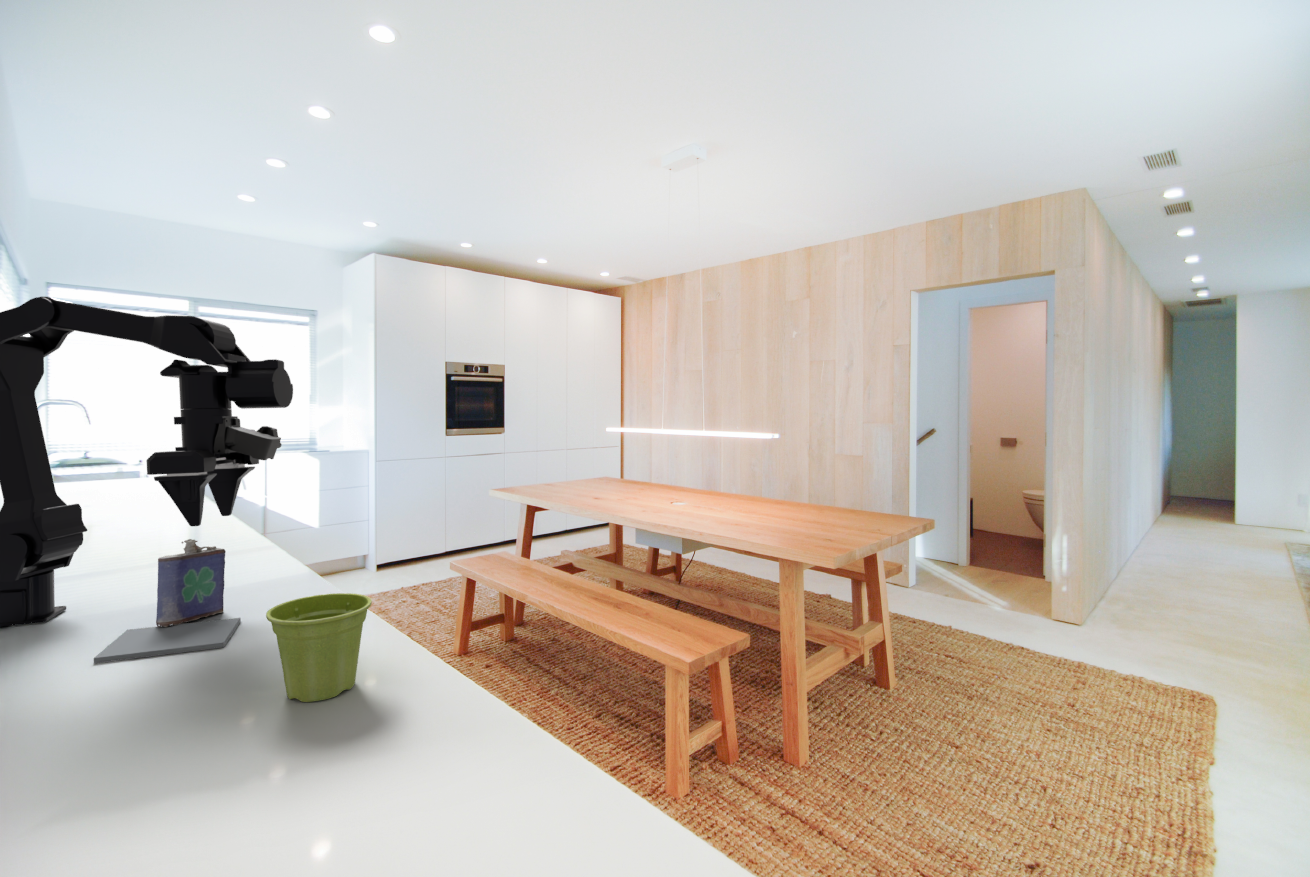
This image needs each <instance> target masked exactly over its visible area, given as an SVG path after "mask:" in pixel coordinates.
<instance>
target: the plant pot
mask: <svg viewBox="0 0 1310 877" xmlns="http://www.w3.org/2000/svg"><path fill="white" fill-rule="evenodd" d="M371 606H372V598H371V597H369V596H367V595H364V594H360V593H348V592H347V593H343V592H341V593H326V594H316V595H311V596H304V597H301V598H300V597H299V598H296V599H291V600H288V601H285V602H282V603H279V604H277V605H275V606H273V607H271V608H269V609H267V610H268V611H267V612H266V613H265V617H266V620H267V621H269V622H270V623H271V627H272V632H273V634H274V635H275V636H276V640H277V646H278V651H279V657H280V664H281V668H282V673H283V680H284V686H285V691H286V696H287V697H288V698H287V699H289V700H293V699H297V700H298V701H300V702H301V703H313V702H318V701H323V700H330V699H332V698H334V697H337V696H339V695H340V693H342V692H343V691H345V690H351V689H352V688H353V687H354V686H355V683H356V679H357V672H358V671H357V670H358V663H359V653H360V648H361V641H362V640H361V639H362V631H363V627H364V626H363V625H364V622H365V621H366V617H367V613H368V610H369V608H371Z"/></svg>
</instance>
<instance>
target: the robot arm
mask: <svg viewBox="0 0 1310 877" xmlns="http://www.w3.org/2000/svg"><path fill="white" fill-rule="evenodd" d="M74 331H76V332H81V333H86V334H91V335H92V334H93V335H98V336H99V335H100V336H104V337H110V338H115V339H120V340H125V341H126V340H128V341H132V342H137V343H142V344H143V343H144V344H146V345H149V346H151V347H154V348H157V349H159V350H160V351H161V350H162V351H164V352H166V353H170V354H172V355H175V356H178V357H181V358H184V359H189V360H196V361H201V362H202V363H204V364H189V363H188V362H187V361H186V360H182V359H181V360H180V359H174V360H173V361H172V362H171V363H170V365H168V366H166V367H165V368H163V369H162V370H161V371H160V373H159V374H160V376H161V377H167V378H168V377H169V378H174V379H175V378H176V379H178V382H179V386H178V387H179V404H180V406H179V407H180V416H173V424H174V425H181V426H180V427H181V444H182V445H181V446H177V447H176V446H175V449H174V450H172V451H170V450H169V451H157V452H154V453H152V454H151V455H150V456H149V457H148V458H147V459H146V474H147V475H148V476H150V475H151V476H152V475H153V479H154V481H155V482H158V483H159V484H160V486H161V487H162V489H163V490H164V491H165V492H166V493H167V495H168V496H169V497H170V498H171V500H172V501H173V503H174V504H175V506H176V507H177V509H178V510H179V512H180V513H181V515H182V516H183V518H184V519H185V521H186V523H187V524H188V525H189V526H190V527H199V526H201V525H202V524H201V523H202V519H203V513H204V503H205V501H204V500H205V493H206V486H207V485H208V486H209V490H210V492H211V494H212V496H213V499H214V502H215V504H216V507H217V509H218V510H219V512H220V515H221V516H222V517H228V516H231V515H232V514H233V511H234V507H235V502H236V499H237V497H238V496H237V495H238V493H239V489H240V486H241V483H242V480H243V478H245V476H247V475H248V474H249V473H251V472H252V471H253V470H255V468H256V466H250V465H259V464H260V461H267V460H268V459H270V460H274V458H275V456H276V453H277V450H278V449H280V448H281V447H282V443H281V439H282V437H279V435H278V429H277V428H275V427H271V426H267V425H263V426H261V427H260V428H258V429H257V430H255V429H251V428H250V429H249V428H245V427H242V426H241V420H240V418H239V417H238V416H237V415H236V416H233V414H232V413H233V412H232V402H234V404H235V405H236V406H237V407H238V408H239V409H242V410H243V409H244V410H245V409H278V408H279V409H284V408H287V407H289V406H290V404H291V403H292V400H293V396H294V385H293V383H292V382H291V378H290V376H289V373H288V371H287V370H286V369H285V362H284V361H283V360H279V359H277V358H275V359H264V360H250V358H249V357H248V356H247V355H246V354H245V353H244V352H243V350H242V349H241V348H240V347H239V346H238V344H237V343H236V341H237V340H236V337H235V334H234V333H233V332H232V330H231V328H230V327H229V326H227V325H225V324H223V323H219V322H216V321H212V320H209V319H205V318H201V317H197V316H193V315H168V314H167V315H166V314H165V315H157V316H150V315H149V316H146V315H141V314H140V315H139V314H134V313H129V312H128V313H127V312H122V311H118V310H112V309H108V308H107V309H106V308H100V307H95V306H90V305H85V304H79V303H73V302H71V301H67V300H62V299H58V298H54V297H50V296H38V297H36V296H35V297H33V298H31V299H28V300H27V301H26V302H24V303H22V304H21V305H19V306H17V307H13V308H10V309H6V310H3V311H1V312H0V489H1V490H0V491H1V494H2V497H3V503H2V504H3V505H2V506H1V508H0V627H10V626H11V627H12V626H21V625H31V624H39V623H40V624H41V623H46V622H48V621H49V620H52V618H54V617H56V616H57V615H60V614H61V613H63V612H64V611H66V610H67V606H66V605H60V606H59V605H58V606H55V570H57V569H61V568H67V567H69V566H70V564H71V562H72V558H73V556H74V554H75V552H77V550H78V549H79V548H80V547H81V546H82V544H83V542H84V533H86V532H88V528H87V527H86V525H85V524H84V522H83V515H82V514H83V511H82V510H83V509H82V507H81V505H80V504H79V503H72V504H67V503H66V502H65V501H64V500H63V499H61V498H60V496H58V495H57V491H56V487H55V483H54V478H53V474H52V469H51V464H50V460H49V456H48V450H47V445H46V442H45V436H44V432H43V427H42V424H41V418H40V412H39V409H38V404H37V399H36V395H35V394H36V390H37V388H38V385H39V384H40V382H41V379H42V378H43V376H44V374H45V364H44V363H45V361H44V360H45V358H46V357H47V356H49V355H51V354H52V353H54V352H55V351H57V350H59V348H61V346H62V345H63V343H64V341H65V340H66V339H67V336H68V335H70V334H72V333H73V332H74ZM214 366H217V367H221V368H227V371H219V370H217V369H216V368H215V367H214ZM246 465H248V466H246ZM154 475H158V476H154Z"/></svg>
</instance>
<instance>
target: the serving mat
mask: <svg viewBox="0 0 1310 877" xmlns="http://www.w3.org/2000/svg"><path fill="white" fill-rule="evenodd" d="M240 624H241V617H234V618H226V619H215V620H208V621H207V620H206V621H197V622H196V621H195V622H190V623H189V622H188V623H187V622H185V623H182V624H177V625H169V626H167V627H164V626H160V625H159V626H160V627H157V626H150V627H141V628H139V627H138V628H132V629H126V630H125V631H124V632H123V633H122V634H120V635H119V636H118V637H117V638H116V639H114V640H113V641H112V642H111V643H110V644H108V645H107V646H106V647H105V648H104V649H102V651H100V652H99V653H98V654H97V655H96V656H94V658H93V664H98V663H99V664H100V663H108V662H109V663H110V662H117V661H125V660H132V659H140V658H148V657H149V658H150V657H156V656H164V655H173V654H181V653H188V652H189V653H190V652H197V651H204V650H205V651H206V650H213V649H221V648H225V646H226V645H227V644H228V642H229V640H230V639H231V638H232V635H233V634H234V633H235V631H236V630H237V628H238V626H239V625H240Z"/></svg>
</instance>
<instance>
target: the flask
mask: <svg viewBox="0 0 1310 877" xmlns="http://www.w3.org/2000/svg"><path fill="white" fill-rule="evenodd" d="M184 543H185V546H184V548H183V551H184V553H176V554H171V555H164V556H161V557H158V558H157V590H156V591H157V597H156V598H157V600H156V617H155V623H156V627H160V626H164V627H167V626H169V625H177V624H183V623H187V622H188V623H189V622H191V621H196V620H199V619H200V618H204V617H205V618H207V617H209V616H214V615H216V614H221V613H223V612H224V592H225V566H226V560H225V558H226V550H225V548H219V547H217V546H215V545H214V546H201V547H200V546H199V545H198V544H196V543H198V540H196V539H192V538H189V539H186V540H184V541H181V544H182V545H183V544H184Z"/></svg>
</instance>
